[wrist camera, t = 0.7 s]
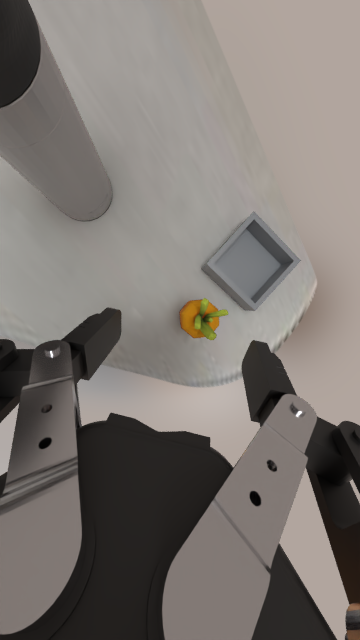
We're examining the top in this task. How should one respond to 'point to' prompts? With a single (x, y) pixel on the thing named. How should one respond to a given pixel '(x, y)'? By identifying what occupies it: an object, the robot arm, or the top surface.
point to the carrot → (200, 318)
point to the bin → (251, 263)
